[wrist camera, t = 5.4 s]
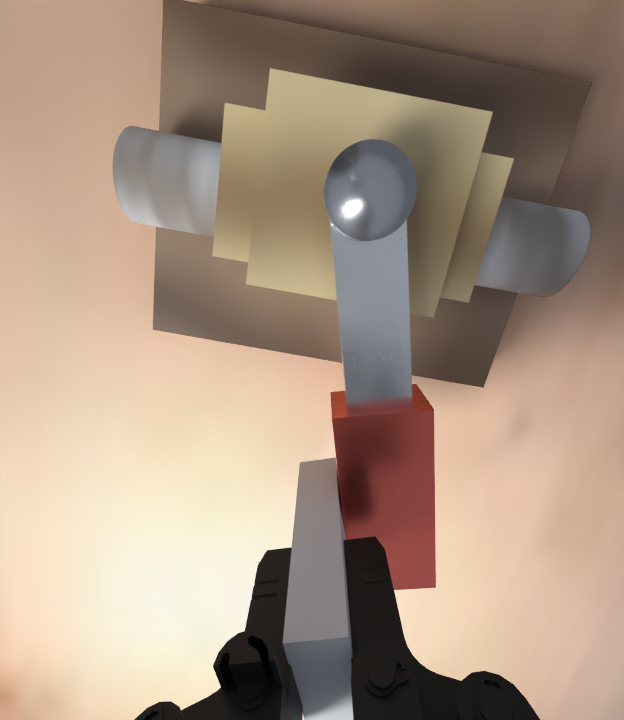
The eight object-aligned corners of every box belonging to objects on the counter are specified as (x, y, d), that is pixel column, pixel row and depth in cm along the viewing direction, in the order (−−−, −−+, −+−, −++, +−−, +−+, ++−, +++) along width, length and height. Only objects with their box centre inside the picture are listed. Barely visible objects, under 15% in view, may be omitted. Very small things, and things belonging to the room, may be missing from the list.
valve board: (182, 26, 16) (53, -179, 8) (560, 101, 16) (769, -28, 9) (169, 322, 20) (75, 366, 13) (468, 374, 21) (554, 448, 13)
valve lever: (306, 170, 10) (302, 148, 8) (409, 156, 10) (433, 129, 8) (347, 544, 14) (351, 597, 12) (419, 539, 14) (437, 592, 12)
